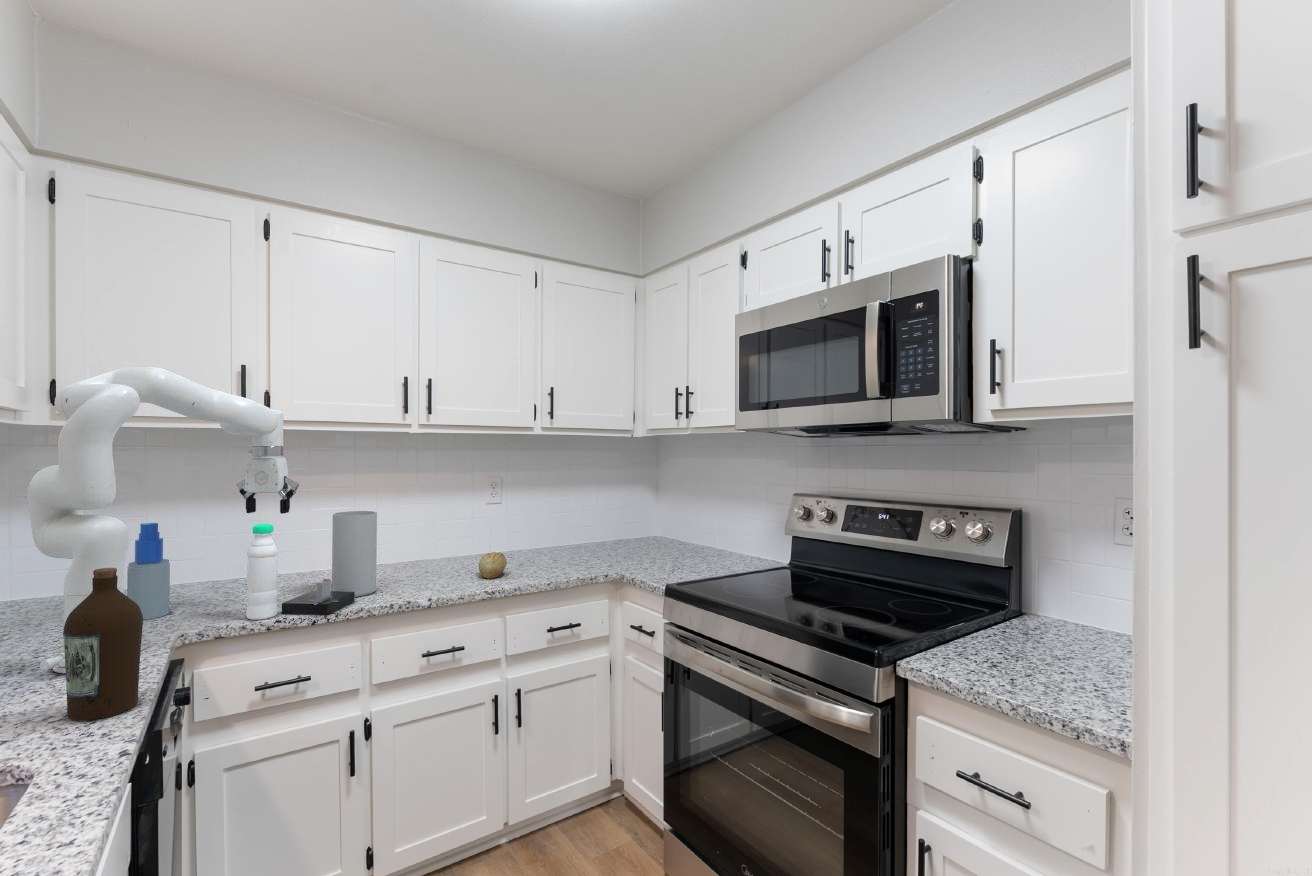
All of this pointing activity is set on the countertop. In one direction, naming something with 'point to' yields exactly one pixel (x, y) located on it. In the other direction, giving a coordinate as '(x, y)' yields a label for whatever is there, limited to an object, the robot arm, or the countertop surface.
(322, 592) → the knob
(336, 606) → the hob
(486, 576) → the bread roll
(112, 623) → the olive oil
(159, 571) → the spray bottle
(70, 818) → the countertop surface
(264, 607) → the water bottle
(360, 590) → the cylinder vase
